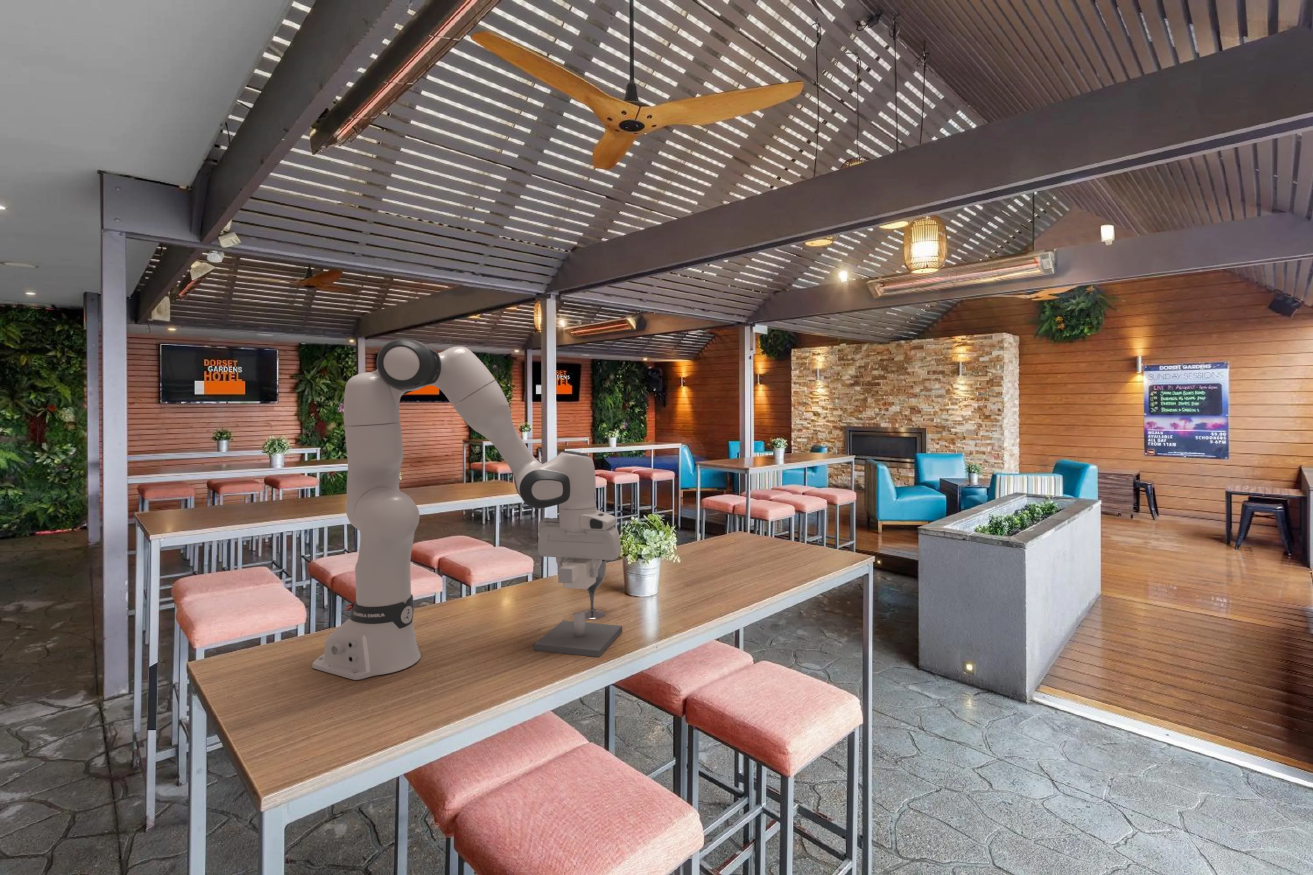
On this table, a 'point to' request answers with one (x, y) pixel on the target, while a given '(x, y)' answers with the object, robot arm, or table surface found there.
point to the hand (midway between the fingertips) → (579, 576)
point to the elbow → (576, 573)
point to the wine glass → (601, 575)
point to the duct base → (579, 637)
